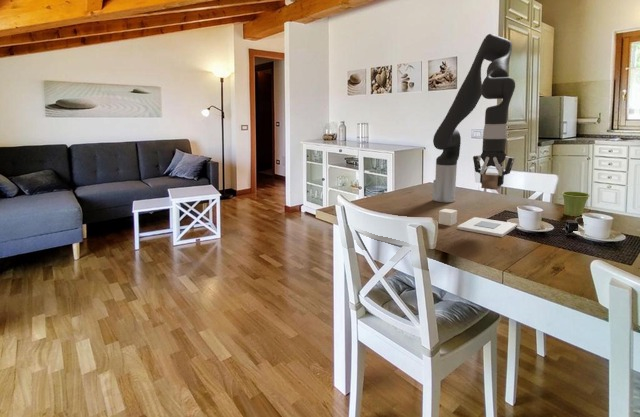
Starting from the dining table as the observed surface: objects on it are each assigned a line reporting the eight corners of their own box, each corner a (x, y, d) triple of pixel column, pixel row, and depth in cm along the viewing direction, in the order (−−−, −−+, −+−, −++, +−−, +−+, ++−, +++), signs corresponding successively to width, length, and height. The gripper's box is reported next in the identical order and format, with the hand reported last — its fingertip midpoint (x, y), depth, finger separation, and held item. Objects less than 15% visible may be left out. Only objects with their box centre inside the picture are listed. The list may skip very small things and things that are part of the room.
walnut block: (481, 188, 150) (482, 174, 148) (486, 185, 153) (487, 172, 152) (495, 189, 146) (496, 175, 145) (500, 187, 150) (501, 173, 149)
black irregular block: (555, 228, 153) (556, 216, 152) (578, 229, 151) (579, 217, 150) (563, 238, 141) (565, 225, 140) (588, 240, 139) (590, 227, 138)
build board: (457, 228, 153) (457, 225, 153) (474, 219, 164) (474, 216, 164) (502, 237, 142) (502, 233, 142) (517, 226, 154) (517, 223, 154)
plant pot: (591, 218, 163) (594, 196, 161) (564, 217, 164) (567, 196, 162) (581, 212, 172) (583, 191, 169) (556, 211, 173) (558, 191, 171)
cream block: (438, 223, 160) (439, 211, 159) (444, 221, 164) (444, 208, 163) (450, 226, 157) (451, 213, 156) (456, 223, 161) (457, 210, 159)
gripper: (470, 137, 148) (467, 185, 152) (512, 138, 138) (508, 189, 142) (478, 136, 153) (475, 182, 157) (519, 136, 144) (516, 185, 148)
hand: (491, 185), depth 150 cm, fingers closed on walnut block, 5 cm apart
